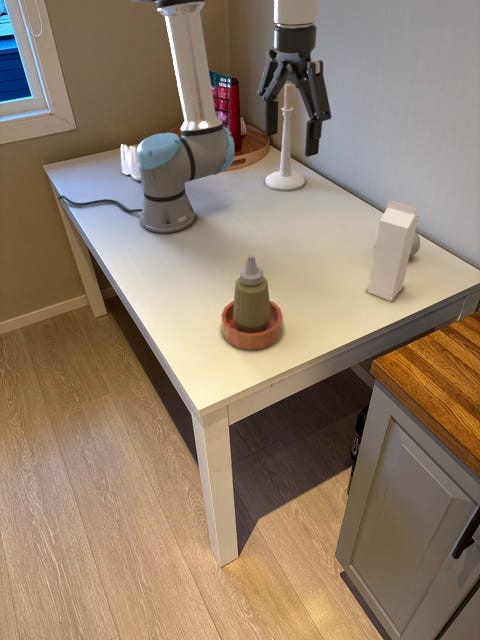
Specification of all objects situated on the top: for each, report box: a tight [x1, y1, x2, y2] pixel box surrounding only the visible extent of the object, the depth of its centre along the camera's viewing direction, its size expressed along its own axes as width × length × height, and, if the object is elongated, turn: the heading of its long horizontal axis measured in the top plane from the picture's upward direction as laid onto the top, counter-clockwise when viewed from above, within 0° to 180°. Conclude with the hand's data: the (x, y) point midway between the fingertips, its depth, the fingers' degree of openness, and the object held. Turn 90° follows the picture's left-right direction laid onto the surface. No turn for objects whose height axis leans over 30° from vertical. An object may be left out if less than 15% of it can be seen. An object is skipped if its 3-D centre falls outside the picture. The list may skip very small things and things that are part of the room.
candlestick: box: [264, 82, 306, 192], centre depth 148 cm, size 13×13×30 cm
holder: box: [220, 300, 284, 351], centre depth 103 cm, size 13×13×4 cm
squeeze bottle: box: [233, 254, 271, 333], centre depth 98 cm, size 8×8×18 cm
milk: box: [367, 200, 420, 302], centre depth 106 cm, size 6×6×22 cm
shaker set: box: [120, 143, 142, 182], centre depth 160 cm, size 12×4×11 cm, turn 39°
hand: (290, 144), depth 99 cm, fingers open, 13 cm apart
